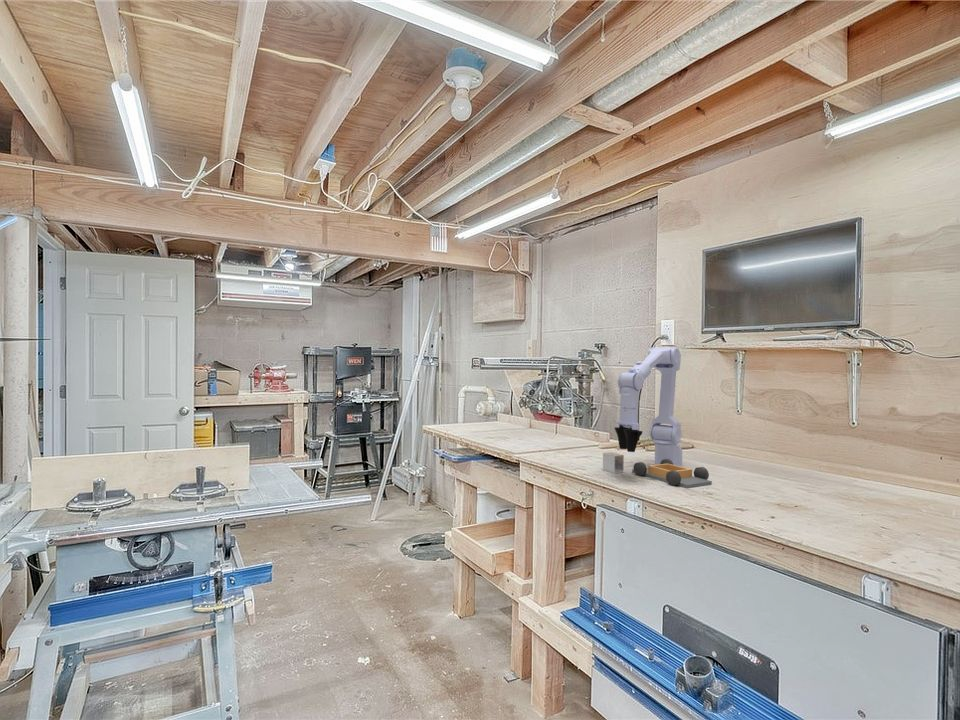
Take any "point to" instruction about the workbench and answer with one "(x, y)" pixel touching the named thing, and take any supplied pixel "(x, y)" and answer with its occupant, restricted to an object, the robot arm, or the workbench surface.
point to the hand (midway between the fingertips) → (626, 450)
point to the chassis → (673, 474)
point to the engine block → (613, 462)
